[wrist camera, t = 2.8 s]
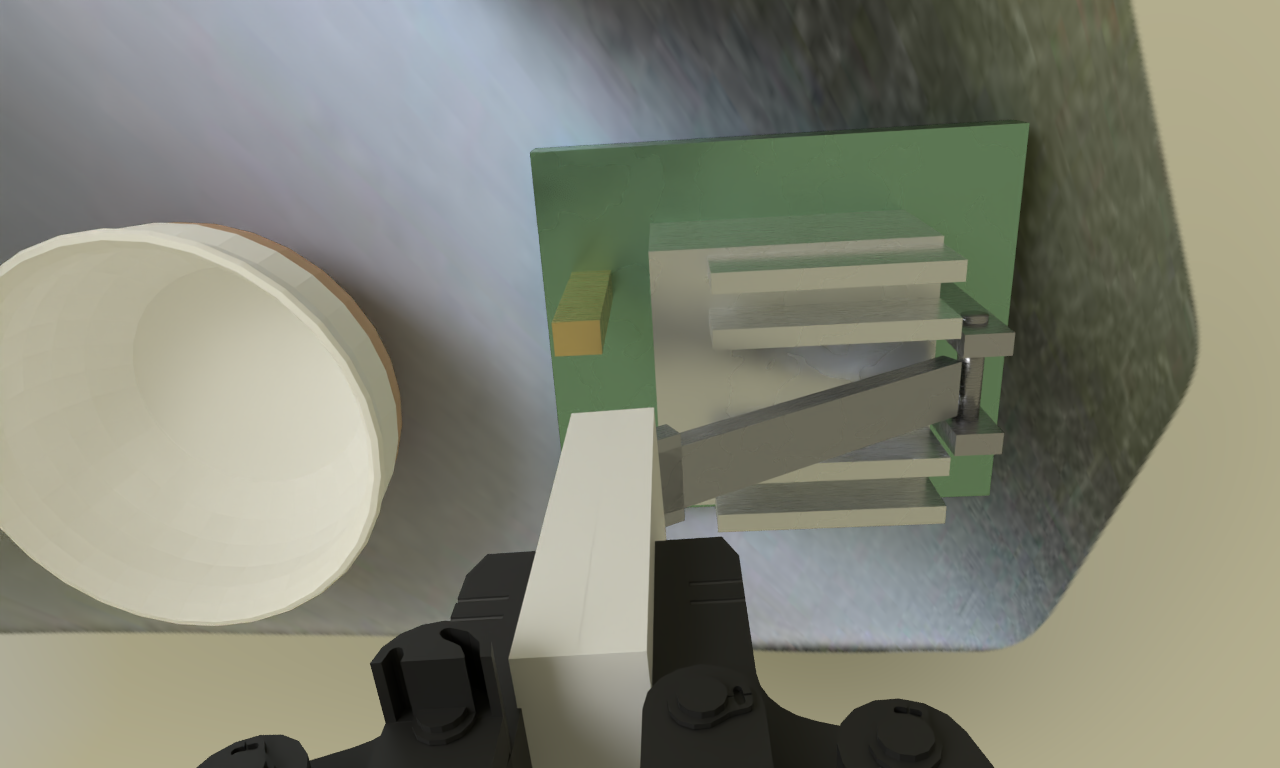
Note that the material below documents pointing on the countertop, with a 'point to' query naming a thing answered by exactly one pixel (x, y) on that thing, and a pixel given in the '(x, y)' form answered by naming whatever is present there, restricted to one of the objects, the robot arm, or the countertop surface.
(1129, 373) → the countertop surface
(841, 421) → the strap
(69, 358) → the bowl
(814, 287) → the heatsink
